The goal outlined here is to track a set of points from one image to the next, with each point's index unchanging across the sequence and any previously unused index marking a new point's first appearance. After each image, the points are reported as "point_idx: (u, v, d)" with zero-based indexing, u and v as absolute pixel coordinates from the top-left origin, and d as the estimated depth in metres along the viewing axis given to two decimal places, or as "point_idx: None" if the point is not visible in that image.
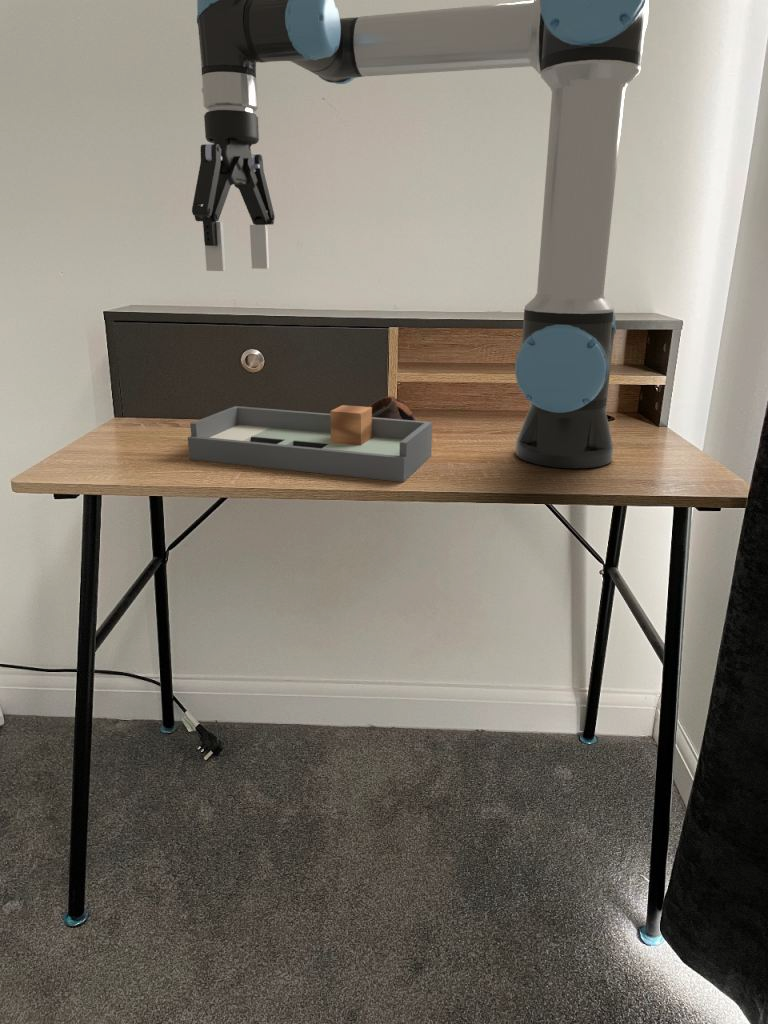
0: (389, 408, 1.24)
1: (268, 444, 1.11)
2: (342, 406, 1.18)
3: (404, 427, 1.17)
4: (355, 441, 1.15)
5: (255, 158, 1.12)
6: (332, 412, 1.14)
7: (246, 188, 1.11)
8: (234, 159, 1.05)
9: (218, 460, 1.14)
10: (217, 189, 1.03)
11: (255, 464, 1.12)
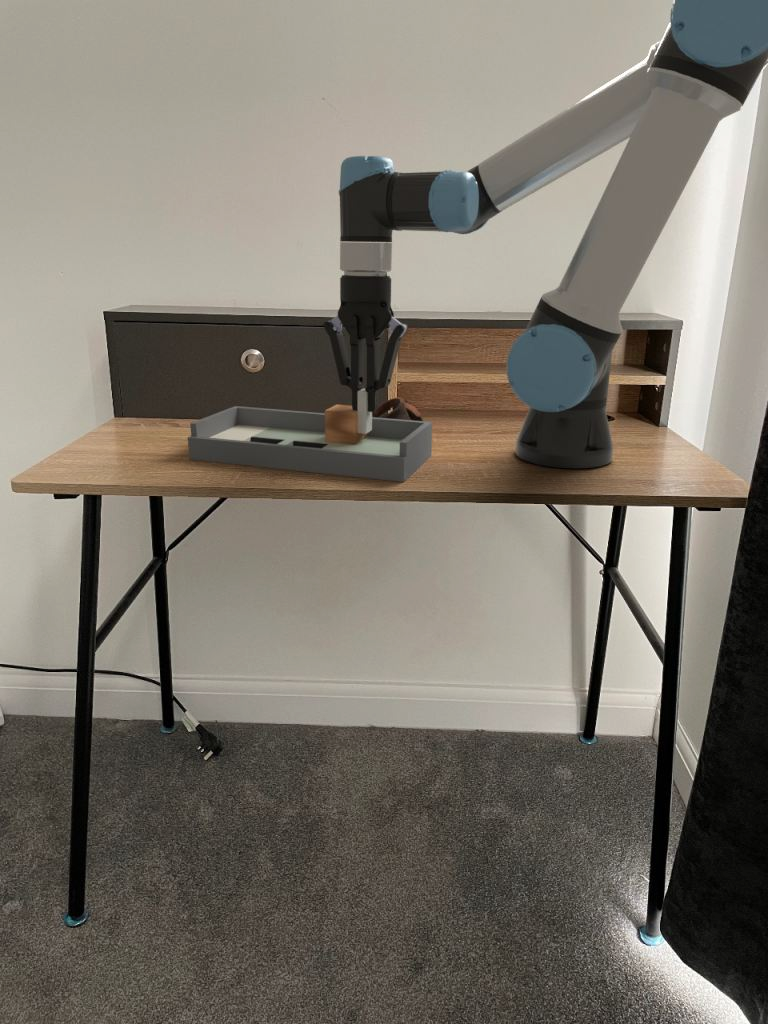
0: (398, 409, 1.23)
1: (268, 444, 1.11)
2: (336, 405, 1.18)
3: (404, 427, 1.17)
4: (349, 440, 1.15)
5: (397, 326, 1.09)
6: (326, 411, 1.14)
7: None
8: None
9: (218, 460, 1.14)
10: None
11: (255, 464, 1.12)
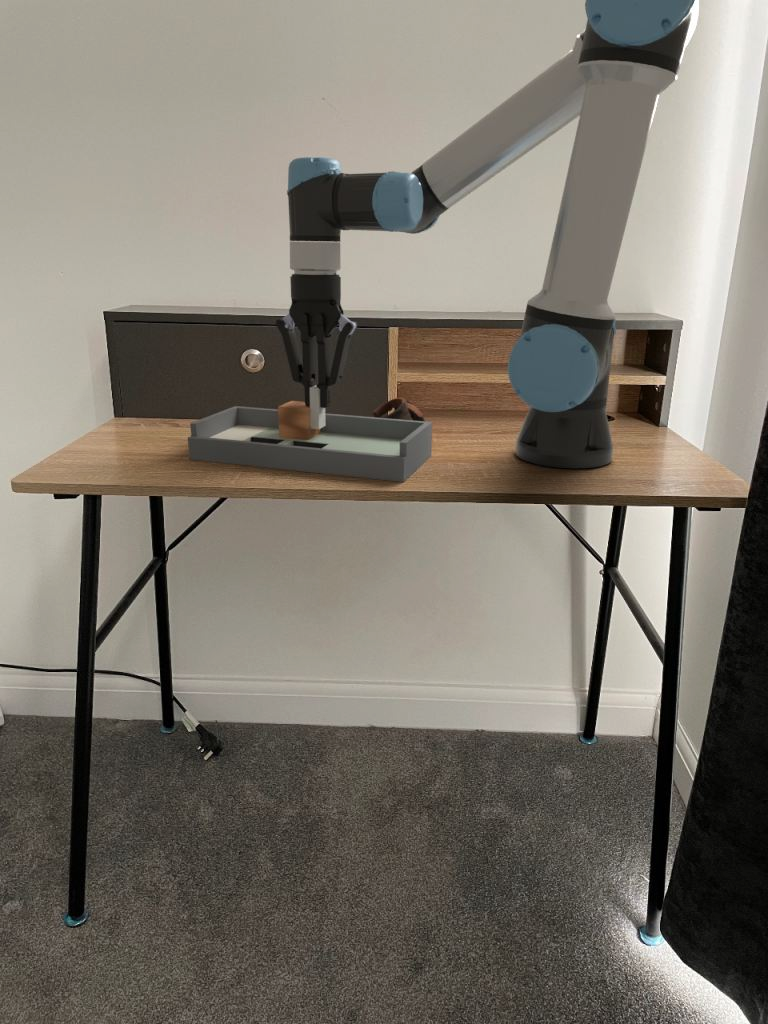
0: (400, 410, 1.23)
1: (268, 444, 1.11)
2: (291, 402, 1.20)
3: (404, 427, 1.17)
4: (302, 436, 1.17)
5: None
6: (280, 408, 1.17)
7: None
8: None
9: (218, 460, 1.14)
10: None
11: (255, 464, 1.12)
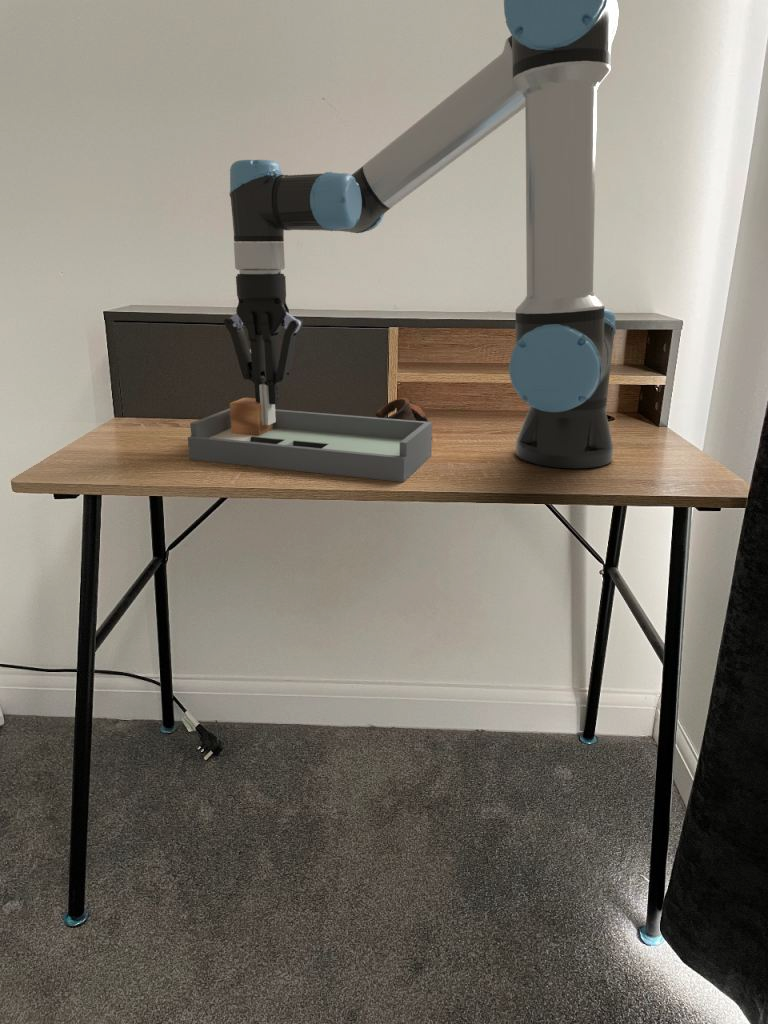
0: (403, 410, 1.23)
1: (268, 444, 1.11)
2: (243, 398, 1.23)
3: (404, 427, 1.17)
4: (253, 431, 1.20)
5: None
6: (231, 404, 1.19)
7: None
8: None
9: (218, 460, 1.14)
10: None
11: (255, 464, 1.12)
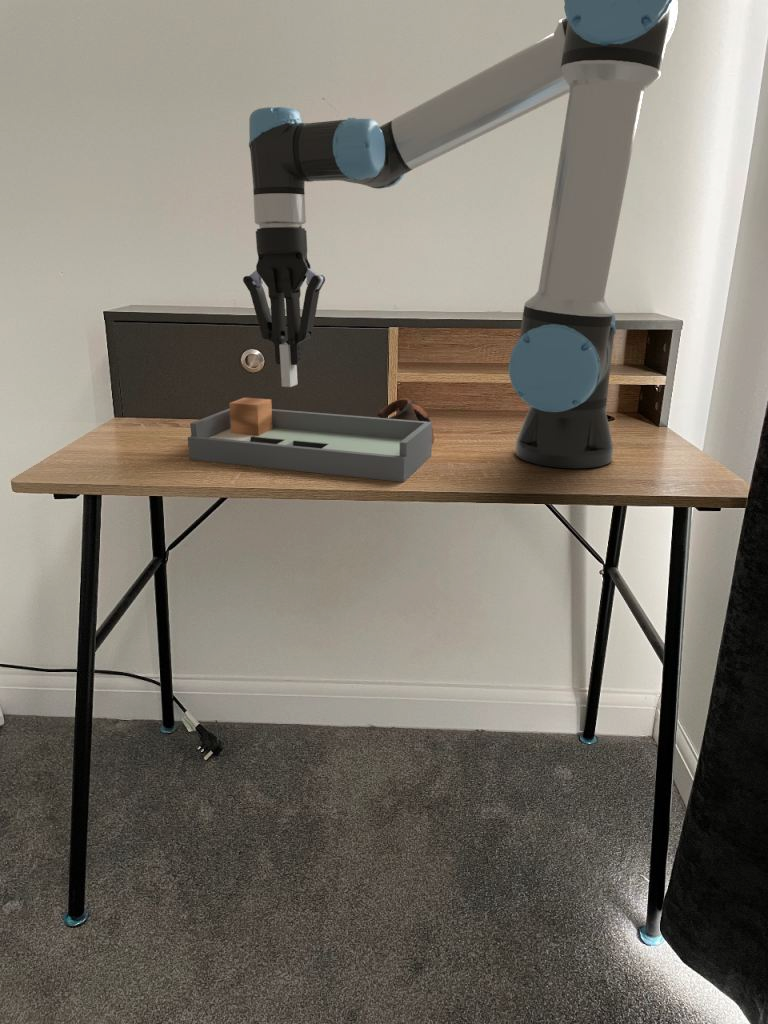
0: (406, 410, 1.22)
1: (268, 444, 1.11)
2: (243, 398, 1.23)
3: (404, 427, 1.17)
4: (253, 432, 1.20)
5: None
6: (231, 404, 1.19)
7: None
8: None
9: (218, 460, 1.14)
10: None
11: (255, 464, 1.12)
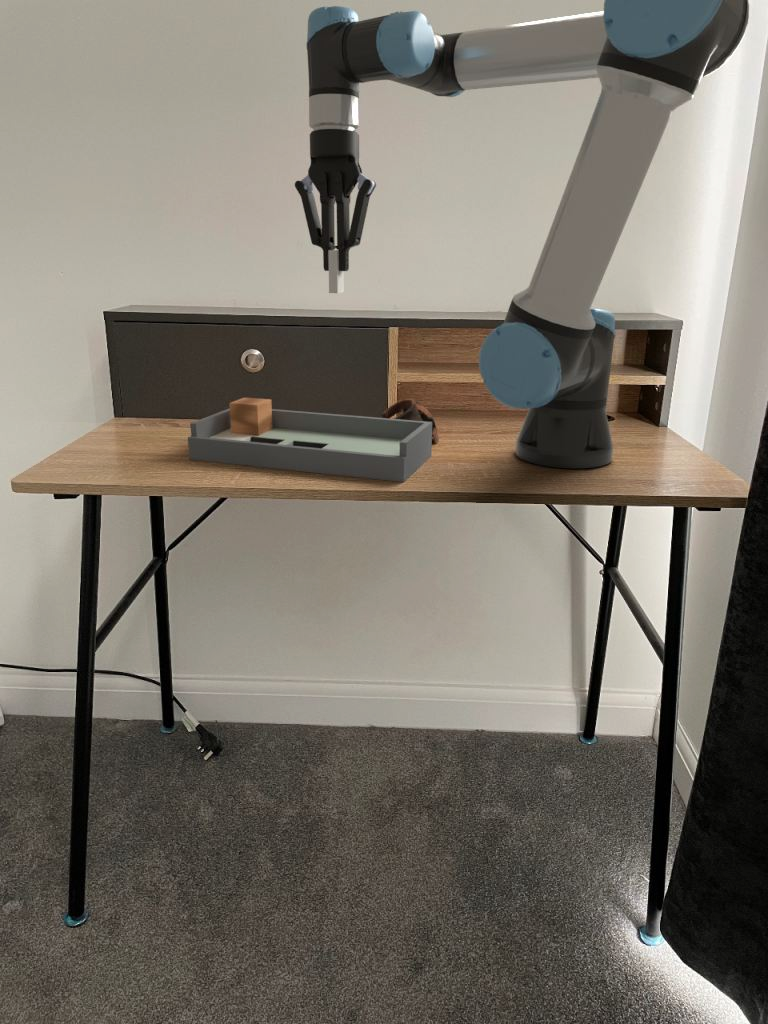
0: (410, 411, 1.22)
1: (268, 444, 1.11)
2: (243, 398, 1.23)
3: (404, 427, 1.17)
4: (253, 432, 1.20)
5: None
6: (231, 404, 1.19)
7: None
8: None
9: (218, 460, 1.14)
10: None
11: (255, 464, 1.12)
